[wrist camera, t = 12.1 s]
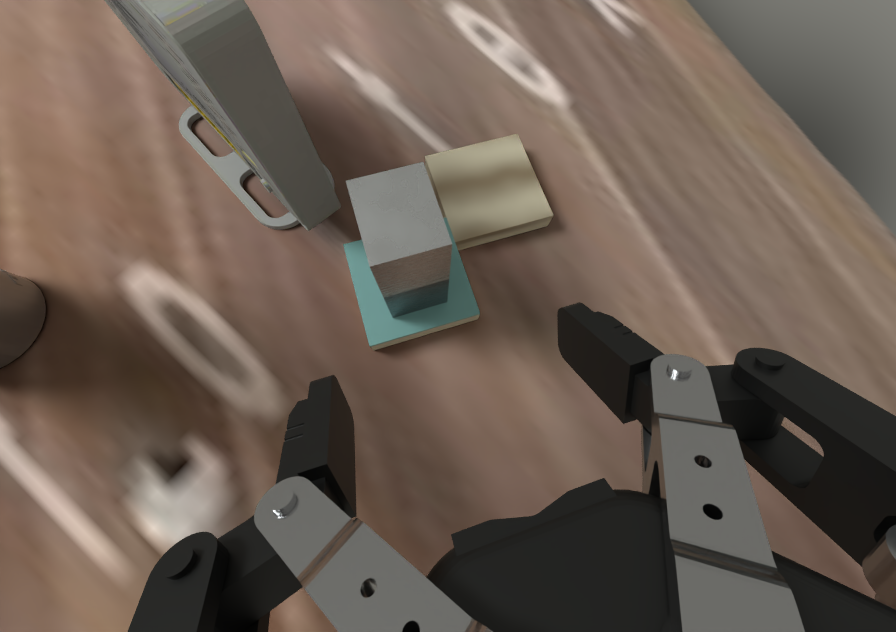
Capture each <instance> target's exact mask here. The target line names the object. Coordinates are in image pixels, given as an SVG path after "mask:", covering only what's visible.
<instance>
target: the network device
mask: <svg viewBox="0 0 896 632" xmlns="http://www.w3.org/2000/svg"><path fill="white" fill-rule="evenodd" d="M105 2H106V3H107V4H108V5H109V7H110V8H111V9H112V10H113V12H114V13H115V14H116V15H117V17H118V18H119V19H120V20H121V22H122V23H123V24H124V25H125V27H126V28H127V29H128V30H129V32H130V33H131V34H132V35H133V37H134V38H135V39H136V40H137V42H138V43H139V44H140V45H141V47H142V48H143V49H144V50H145V52H146V53H147V54H148V56H149V57H150V58H151V59H152V61H153V62H154V63H155V64H156V65H157V67H158V68H159V69H160V70H161V72H162V73H163V74H164V75H165V76H166V77H167V79H168V80H169V81H170V82H171V83H172V84H173V85H174V87H175V88H176V89H177V90H178V91H179V92H180V93H181V94H182V95H183V96H184V97H185V99H186V100H187V101H188V102H189V103H190V104H191V105H192V106H190V107H189V108H188V109H187V110H186V111H185V112H184V113H183V114H182V116H181V118H180V121H179V129H180V132H181V134H182V135H183V137H184V138H185V139H186V140H187V141H188V142H189V143H190V144H191V146H192V147H193V148H194V149H195V150H196V151H197V152H198V153H199V155H200V156H201V157H202V158H203V159H204V160H205V161H206V162H207V164H208V165H209V166H210V167H211V168H212V169H213V170H214V171H215V173H216V174H217V175H218V176H219V177H220V178H221V179H222V180H223V182H224V183H225V184H226V185H227V186H228V187H229V188H230V189H231V190H232V192H233V193H234V194H235V195H236V196H237V197H238V198H239V199H240V201H241V202H242V203H243V204H244V205H245V206H246V207H247V208H248V210H249V211H250V212H251V213H252V214H253V215H254V216H255V217H256V219H257V220H258V221H259V222H260V223H262V224H263V225H264V226H266V227H268V228H272V229H279V230H282V229H288V228H291V227H294V226H296V225H297V224H299V223H301V224H302V225H303V226H304V227H305V228H306V229H307V230H308V231H310V230H311V229H312V228H314V227H315V226H316V225H318V224H319V223H321V222H322V221H323V220H325V219H326V218H327V217H329V216H330V215H331V214H333V213H334V212H335V211H337V210H338V209H339V208H341V204H340V202H339V200H338V198H337V195H336V193H335V191H334V188H335V184H334V179H333V177H332V175H331V172H330V171H329V170H328V168H327V167H326V166H325V165H324V164H323V163H322V162H321V160H320V158H319V156H318V154H317V151H316V149H315V147H314V145H313V143H312V140H311V138H310V136H309V134H308V132H307V129H306V127H305V125H304V123H303V121H302V119H301V116H300V114H299V112H298V110H297V108H296V105H295V103H294V101H293V99H292V97H291V94H290V92H289V90H288V88H287V86H286V83H285V81H284V79H283V77H282V75H281V72H280V70H279V68H278V66H277V64H276V61H275V59H274V57H273V55H272V53H271V50H270V48H269V46H268V44H267V42H266V39H265V37H264V35H263V33H262V31H261V29H260V27H259V25H258V23H257V21H256V19H255V17H254V16H253V14H252V12H251V11H250V9H249V7H248V6H247V4H246V3H245V1H244V0H105ZM201 117H203V118H204V119H205V120H206V121H207V122H208V123H209V125H210V126H211V127H212V128H213V129H214V130H215V131H216V132H217V133H218V134H219V135H220V136H221V138H222V139H223V140H224V141H225V142H226V143H227V144H228V145H229V146H230V147H231V148H232V149H233V152H232V153H230V154H229V155H227V156H224V157H216V156H214V155H212V154H211V153H210V151H209V150H208V149H207V148H206V147H205V146H204V145H203V144H202V143H201V141H200V140H199V139H198V138H197V137H196V136H195V135H194V134H193V133H192V131H191V126H192V124H193V123H194V122H195V121H196V120H197V119H199V118H201ZM253 172H254V173H255V174H256V175H257V177H258V178H259V179H260V182H261V183H262V185H263V186H264V187H265V188H266V189H267V191H268V192H269V193H271V192H272V193H273V194H274V195H275V196H276V197H277V198H278V199H279V200H280V201H281V203H282V204H283V205H284V206H285V207H286V208H287V209H288V210H289V211H290V212H288V213H287V214H286V215H284V216H282V217H280V218H271V217H269V216H268V215H266V214H265V212H264V211H263V210H262V209H261V208H260V207H259V206H258V205H257V204H256V202H255V201H254V200H253V199H252V198H251V197H250V196H249V195H248V194H247V192H246V191H245V190H244V189H243V181H244V180H245V178H246V177H248V176H249V175H251V174H252V173H253Z"/></svg>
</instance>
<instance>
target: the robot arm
mask: <svg viewBox="0 0 896 632" xmlns="http://www.w3.org/2000/svg"><path fill="white" fill-rule="evenodd" d="M45 312H46V305H45V299H44V296H43V294H42V292H41V290H40V289H39V288H38V287H37V286H36V285H35V284H34V283H33V282H31V281H30V280H28V279H26V278H23V277H20V276H17V275H15V274H12V273H9V272H7V271H4V270H2V269H0V368H1V367H3V366H5V365H7V364H9V363H11V362H12V361H14V360H15V359H16V358H18V357H19V356H20V355H21V354H23V353H24V352H25V351H26V350H27V349H28V348H29V347H30V345H31V344H32V343H33V342H34V340H35V339H36V338H37V336H38V334H39V332H40V330H41V328H42V326H43V322H44V319H45ZM558 346H559V350H560V353H561V355H562V357H563V358H564V360H565V361H566V362H567V363H568V364H569V365H570V366H571V367H572V368H573V370H574V371H575V372H576V373H577V374H578V375H579V376H580V377H581V378H582V379H583V380H584V381H585V383H586V384H587V385H588V386H589V387H590V388H591V389H592V390H593V391H594V392H595V393H596V394H597V396H598V397H599V398H600V399H601V400H602V401H603V402H604V403H605V404H606V405H607V406H608V408H609V409H610V410H611V411H612V412H613V413H614V414H615V415H616V416H617V417H618V418H619V419H620V421H621V422H622V423H623V424H625V423H628V422H630V421H633V420H636V419H637V420H638V421H639V422H640V423H641V424H642V426H641V452H642V479H643V483H642V492H638V491H631V490H612V488H611V487H610V485H609V484H608V483H607V481H606V480H605V479H604V478H603V479H600V480H597V481H594V482H592V483H589V484H586V485H584V486H581V487H578V488H575V489H573V490H570V491H568V492H566V493H565V494H564V495H562V496H561V497H560V498H558V499H557V500H556V501H554V502H553V503H552V504H550V505H549V506H548V507H546V508H545V509H544V510H542V511H541V512H540V513H538V514H537V515H534V516H529V517H518V518H507V519H495V520H489V521H486V522H483V523H481V524H478V525H475V526H473V527H470V528H467V529H464V530H462V531H459V532H456V533H454V534H451V536H452V540H453V544H454V548H453V549H452V550H450V551H449V552H448V553H446V554H445V555H444V556H443V557H442V558H441V559H440V560H439V561H438V562H437V564H436V565H435V566H434V567H433V568H432V570H431V571H430V573H429V574H428V576H427V577H425V576H424V575H423V574H421V573H420V572H419V571H418V570H417V569H416V568H415V567H414V566H412V565H411V564H410V563H409V562H408V561H407V560H406V559H404V558H403V557H402V556H401V555H400V554H399V553H398V552H397V551H395V550H394V549H393V548H392V547H391V546H390V545H389V544H388V543H386V542H385V541H384V540H383V539H382V538H381V537H380V536H378V535H377V534H376V533H375V532H374V531H373V530H372V529H371V528H369V527H368V526H367V525H366V524H365V523H364V522H362V521H361V520H359V519H357V518H356V519H355V520H353V519H351V518H353V517H356V483H355V443H354V421H353V416H352V413H351V410H350V407H349V405H348V403H347V400H346V398H345V396H344V394H343V391H342V389H341V387H340V385H339V383H338V380H337V378H336V377H335V376H334V375H332V376H328V377H325V378H322V379H318V380H315V381H312V382H310V387H309V394H308V399H305V400H302V401H299V402H297V404H296V406H295V407H294V409H293V410H292V412H291V413H290V415H289V419H288V424H287V431H286V434H285V439H284V440H285V442H284V444H283V449H282V454H281V460H280V465H279V470H278V475H277V480H276V485H274V486H273V487H272V488H270V489H269V490H268V491H267V492H266V493H265V495H264V496H263V497H262V498H261V500H260V501H259V503H258V505H257V507H256V510H255V514H254V516H252V517H251V518H250V519H248V520H247V521H245V522H244V523H242V524H241V525H239V526H237V527H236V528H234V529H233V530H231V531H229V532H228V533H226V534H225V535H223V536H221V537H220V538H218V539H217V538H216V537H215V536H214V535H213V534H211V533H208V532H199V533H195V534H192V535H190V536H188V537H186V538H184V539H182V540H181V541H179V542H178V543H176V544H175V545H174V546H173V547H172V548H170V549H169V550H168V551H167V552H166V553H165V554H164V555H163V556H162V558H161V559H160V560H159V561H158V562H157V564H156V565H155V567H154V568H153V570H152V572H151V573H150V576H149V578H148V580H147V583H146V585H145V588H144V591H143V593H142V596H141V598H140V601H139V604H138V606H137V609H136V611H135V614H134V617H133V619H132V622H131V624H130V627H129V630H128V632H268V626H269V617H270V611H271V610H272V609H274V608H275V607H276V606H278V605H279V604H280V603H282V602H283V601H284V600H286V599H287V598H288V597H290V596H291V595H292V594H294V593H295V592H296V591H298V590H299V589H300V588H302V587H304V589H305V590H306V591H307V593H308V594H309V595H310V596H311V598H312V599H313V600H314V601H315V603H316V604H317V605H318V607H319V608H320V609H321V610H322V612H323V613H324V614H325V615H326V617H327V618H328V619H329V621H330V622H331V623H332V624H333V626H334V627H335V628H336V629H337V631H338V632H896V416H894V415H893V414H891V413H889V412H887V411H886V410H884V409H882V408H880V407H879V406H877V405H875V404H873V403H872V402H870V401H868V400H866V399H864V398H863V397H861V396H859V395H857V394H856V393H854V392H852V391H850V390H849V389H847V388H845V387H843V386H842V385H840V384H838V383H836V382H835V381H833V380H831V379H829V378H828V377H826V376H824V375H822V374H821V373H819V372H817V371H815V370H813V369H812V368H810V367H808V366H806V365H805V364H803V363H801V362H799V361H798V360H796V359H794V358H792V357H790V356H789V355H786V354H784V353H782V352H778V351H775V350H771V349H765V348H748V349H744V350H742V351H740V352H739V353H738V354H737V355H736V358H735V361H734V365H720V366H704V365H703V364H702V363H700V362H699V361H697V360H695V359H693V358H691V357H687V356H684V355H678V354H666V355H665V354H663V353H662V352H660V351H659V350H658V349H656V348H655V347H654V346H652V345H651V344H649V343H648V342H647V341H645V340H644V339H643V338H641V337H640V336H638V335H637V334H636V333H633V332H632V330H630V329H629V328H627V327H626V326H623V324H622V323H621V322H619V321H618V320H616V319H615V318H614V317H612V316H609V315H607V314H604V313H601V312H593V311H592V310H590V309H589V308H588V307H586V306H585V305H584V304H582V303H576V304H573V305H569V306H566V307H563V308H560V309H559V310H558ZM784 417H786V418H787V419H789V420H790V421H791V422H793V423H794V424H795V425H797V426H798V427H800V428H801V429H802V430H804V431H805V432H807V433H808V434H809V435H811V436H812V437H813V438H815V439H816V440H817V442H818V443H819V444H820V445H821V447H822V449H823V452H824V457H823V456H821V455H820V454H819V453H817V452H816V451H815V450H813V449H812V448H811V447H809V446H808V445H807V444H805V443H804V442H803V441H801V440H800V439H799V438H797V437H796V436H795V435H793V434H792V433H791V432H789V431H788V430H787V429H785V428H784V427H783V426H781V423H782V421H783V419H784ZM744 459H745V460H746V461H747V462H748V463H749V464H750V465H751V466H752V467H753V468H754V469H756V470H757V471H758V472H759V473H760V474H761V475H762V476H763V477H764V478H765V479H767V480H768V481H769V482H770V483H771V484H772V485H773V486H774V487H775V488H776V489H777V490H779V491H780V492H781V493H782V494H783V495H784V496H785V497H786V498H787V499H788V500H789V501H791V502H792V503H793V504H794V505H795V506H796V507H797V508H798V509H799V510H800V511H802V512H803V513H804V514H805V515H806V516H807V517H808V518H809V519H810V520H811V521H812V522H814V523H815V524H816V525H817V526H818V527H819V528H820V529H821V530H822V531H823V532H824V533H826V534H827V535H828V536H829V537H830V538H831V539H832V540H833V541H834V542H835V543H837V544H838V545H839V546H840V547H841V548H842V549H843V550H844V551H845V552H846V553H847V554H849V555H850V556H851V557H852V558H853V559H854V560H855V561H856V562H857V563H858V564H859V565H861V566H862V568H863V572H864V575H865V577H866V579H867V581H868V583H869V584H870V586H871V587H872V588H873V590H874V591H875V592H876V594H875V600H874V599H872V598H870V597H868V596H866V595H864V594H862V593H860V592H858V591H855V590H853V589H851V588H849V587H847V586H845V585H843V584H841V583H839V582H836V581H834V580H832V579H830V578H828V577H826V576H824V575H822V574H820V573H817V572H815V571H813V570H811V569H809V568H807V567H805V566H803V565H801V564H798V563H796V562H794V561H792V560H790V559H788V558H786V557H784V556H781V555H779V554H777V553H775V552H773V551H771V548H770V545H769V542H768V538H767V535H766V532H765V528H764V525H763V521H762V518H761V515H760V511H759V508H758V505H757V501H756V498H755V494H754V491H753V488H752V484H751V481H750V478H749V474H748V471H747V467H746V464H745V461H744Z"/></svg>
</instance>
